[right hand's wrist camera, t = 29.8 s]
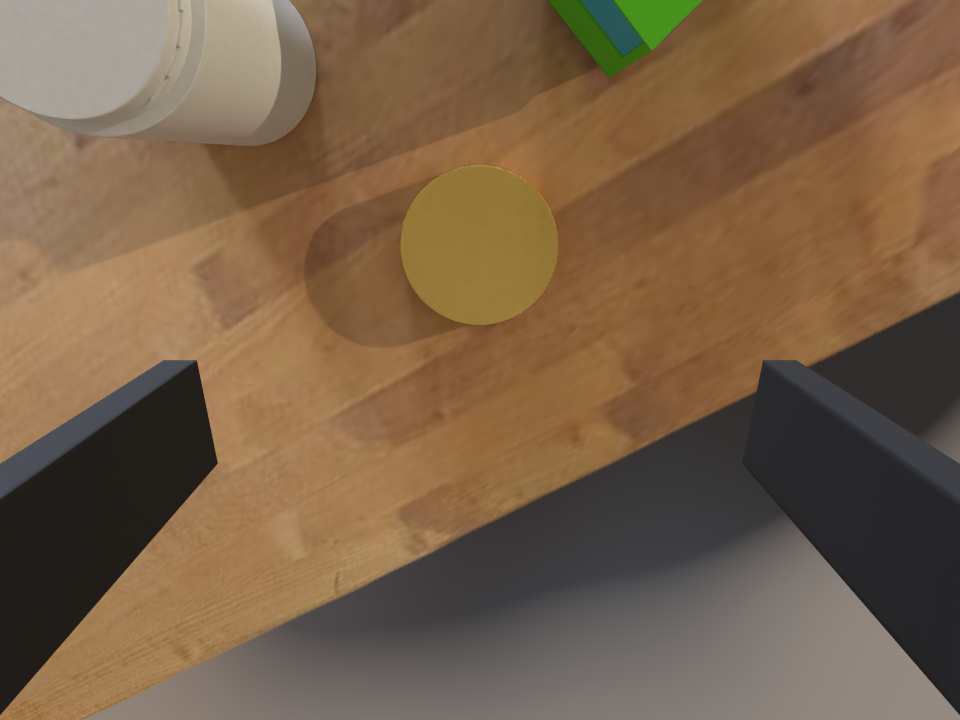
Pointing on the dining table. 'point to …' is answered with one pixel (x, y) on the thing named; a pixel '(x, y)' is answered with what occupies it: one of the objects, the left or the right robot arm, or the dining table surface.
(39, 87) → the jar
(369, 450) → the dining table surface
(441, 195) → the lid
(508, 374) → the dining table surface
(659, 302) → the dining table surface
